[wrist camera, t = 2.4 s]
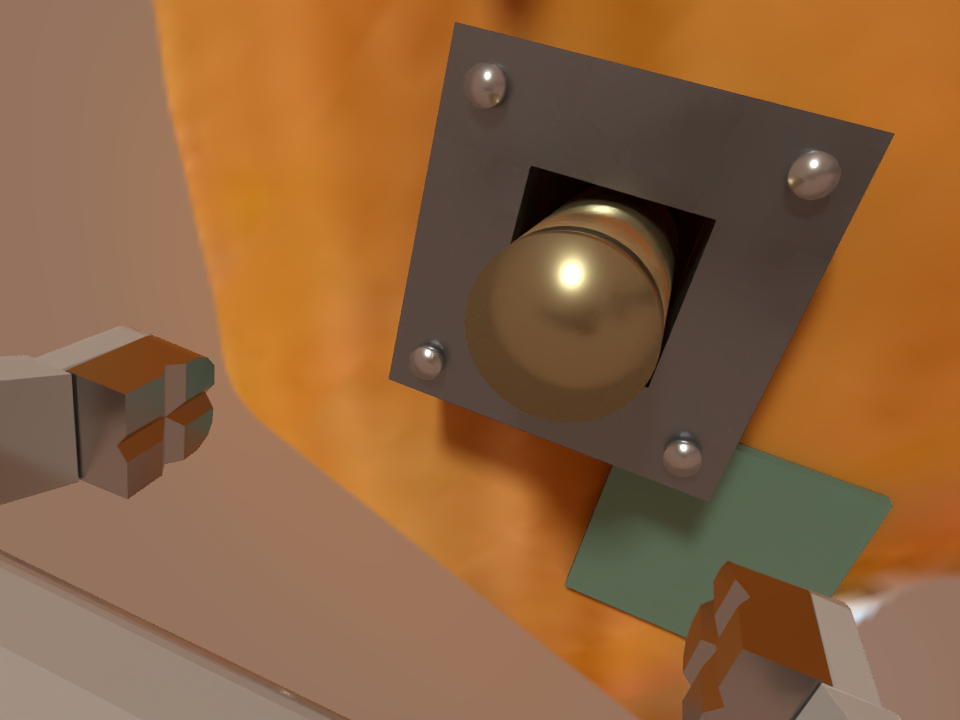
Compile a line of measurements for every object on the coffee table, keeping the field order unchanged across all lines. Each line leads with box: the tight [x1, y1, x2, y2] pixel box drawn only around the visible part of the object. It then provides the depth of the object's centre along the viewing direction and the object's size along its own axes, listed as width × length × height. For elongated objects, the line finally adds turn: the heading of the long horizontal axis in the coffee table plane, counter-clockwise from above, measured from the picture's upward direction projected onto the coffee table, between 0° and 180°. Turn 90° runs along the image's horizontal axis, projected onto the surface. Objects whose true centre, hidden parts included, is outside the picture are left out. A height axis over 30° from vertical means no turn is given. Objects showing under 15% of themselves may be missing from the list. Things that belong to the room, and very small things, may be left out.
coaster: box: [565, 443, 893, 638], centre depth 27 cm, size 10×10×1 cm
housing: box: [389, 22, 894, 502], centre depth 21 cm, size 12×12×6 cm
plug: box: [465, 185, 679, 423], centre depth 19 cm, size 5×5×10 cm
